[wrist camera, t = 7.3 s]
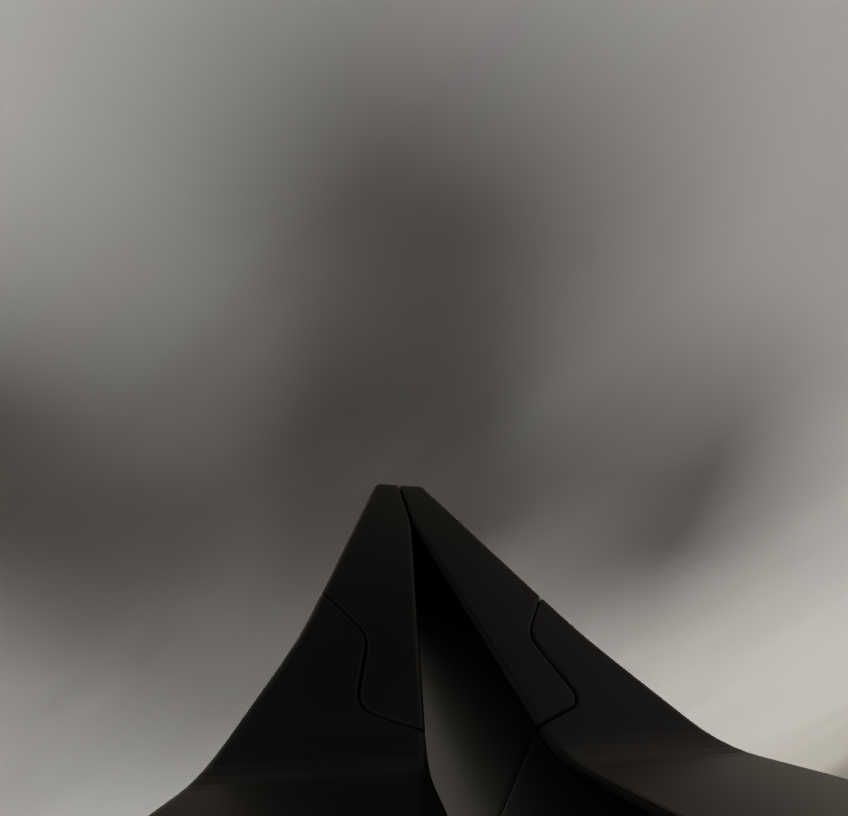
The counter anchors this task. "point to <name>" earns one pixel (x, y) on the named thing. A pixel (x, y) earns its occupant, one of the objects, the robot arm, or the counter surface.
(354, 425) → the counter surface
